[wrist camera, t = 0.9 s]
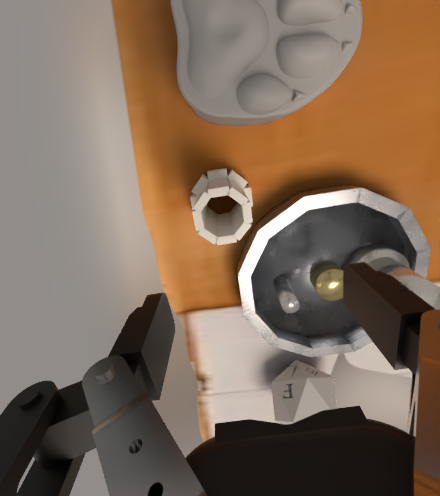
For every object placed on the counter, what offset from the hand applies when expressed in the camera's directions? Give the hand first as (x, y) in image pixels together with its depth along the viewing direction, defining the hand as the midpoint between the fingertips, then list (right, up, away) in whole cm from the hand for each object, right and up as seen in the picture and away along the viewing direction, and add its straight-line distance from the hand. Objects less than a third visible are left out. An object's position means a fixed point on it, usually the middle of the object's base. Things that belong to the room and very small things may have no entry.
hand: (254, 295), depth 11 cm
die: (+10, -17, +27) cm, 33 cm away
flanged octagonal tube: (-1, +8, +17) cm, 19 cm away
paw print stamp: (+2, +20, +13) cm, 23 cm away
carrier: (+11, -1, +20) cm, 23 cm away
